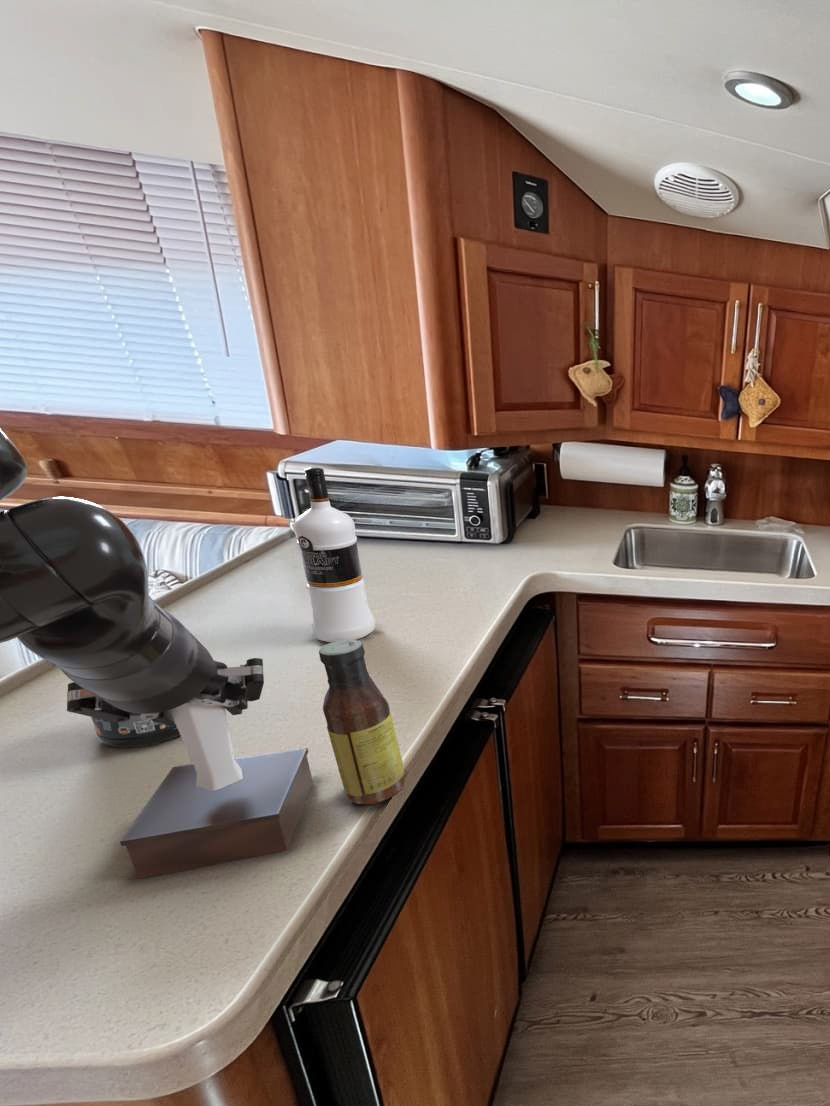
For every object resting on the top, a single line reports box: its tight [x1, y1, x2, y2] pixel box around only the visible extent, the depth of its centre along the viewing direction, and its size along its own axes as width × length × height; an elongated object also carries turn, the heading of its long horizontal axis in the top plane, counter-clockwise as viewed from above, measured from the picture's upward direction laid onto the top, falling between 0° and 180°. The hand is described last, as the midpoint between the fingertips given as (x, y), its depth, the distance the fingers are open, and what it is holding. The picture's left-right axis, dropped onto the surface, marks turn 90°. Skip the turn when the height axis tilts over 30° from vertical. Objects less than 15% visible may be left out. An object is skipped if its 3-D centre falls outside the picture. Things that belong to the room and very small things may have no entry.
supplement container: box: [90, 715, 181, 748], centre depth 83 cm, size 10×10×12 cm
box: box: [119, 747, 314, 880], centre depth 70 cm, size 12×12×5 cm
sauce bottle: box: [318, 639, 406, 805], centre depth 74 cm, size 7×6×20 cm
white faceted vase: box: [170, 703, 243, 791], centre depth 65 cm, size 5×4×15 cm
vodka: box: [293, 466, 376, 643], centre depth 109 cm, size 9×9×30 cm
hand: (205, 710), depth 67 cm, fingers closed on white faceted vase, 4 cm apart
